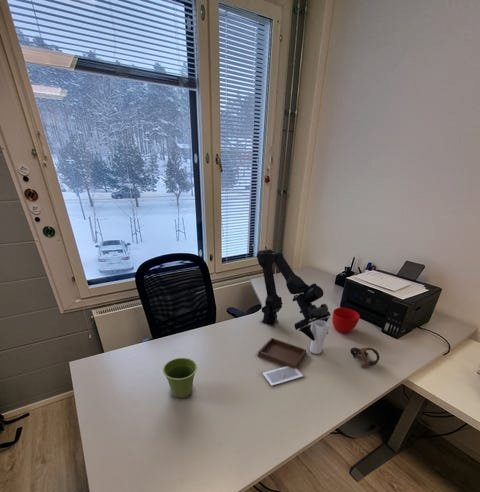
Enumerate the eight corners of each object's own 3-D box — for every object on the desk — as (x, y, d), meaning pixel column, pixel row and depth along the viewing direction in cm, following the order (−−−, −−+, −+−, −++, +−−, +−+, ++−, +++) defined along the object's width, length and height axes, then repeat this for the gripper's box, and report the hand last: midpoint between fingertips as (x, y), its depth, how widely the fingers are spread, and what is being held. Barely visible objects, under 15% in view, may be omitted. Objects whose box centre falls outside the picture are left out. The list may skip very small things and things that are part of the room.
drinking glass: (323, 348, 127) (329, 321, 119) (322, 356, 121) (328, 328, 114) (308, 345, 129) (314, 318, 121) (307, 353, 123) (312, 325, 116)
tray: (258, 356, 120) (258, 351, 119) (271, 341, 130) (271, 337, 129) (294, 370, 112) (295, 365, 111) (305, 354, 123) (306, 349, 121)
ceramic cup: (346, 320, 152) (350, 304, 147) (359, 336, 137) (364, 319, 132) (324, 320, 151) (327, 304, 146) (334, 336, 136) (338, 319, 131)
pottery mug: (372, 356, 123) (382, 349, 116) (369, 374, 119) (380, 368, 111) (347, 346, 125) (356, 338, 117) (343, 363, 120) (352, 357, 113)
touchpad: (303, 378, 109) (304, 374, 108) (271, 387, 104) (271, 383, 103) (292, 366, 115) (293, 362, 114) (261, 374, 110) (262, 370, 109)
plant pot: (183, 408, 93) (181, 384, 87) (159, 394, 98) (155, 370, 92) (204, 388, 102) (203, 365, 96) (181, 376, 107) (179, 353, 101)
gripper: (303, 304, 111) (319, 338, 108) (331, 294, 120) (347, 326, 118) (287, 313, 120) (302, 345, 118) (314, 303, 130) (328, 333, 127)
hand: (320, 337), depth 120 cm, fingers open, 9 cm apart
